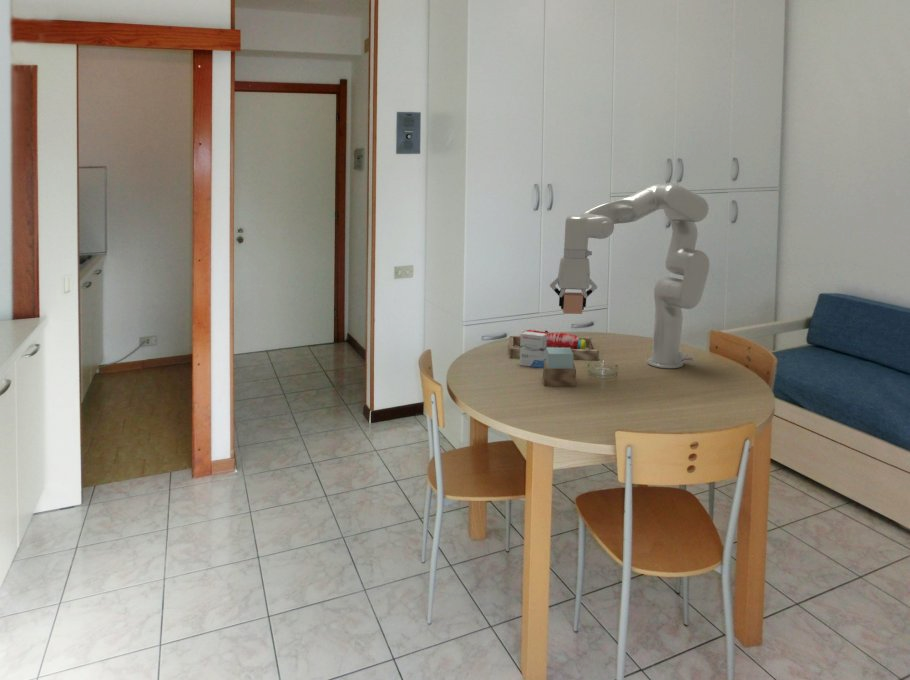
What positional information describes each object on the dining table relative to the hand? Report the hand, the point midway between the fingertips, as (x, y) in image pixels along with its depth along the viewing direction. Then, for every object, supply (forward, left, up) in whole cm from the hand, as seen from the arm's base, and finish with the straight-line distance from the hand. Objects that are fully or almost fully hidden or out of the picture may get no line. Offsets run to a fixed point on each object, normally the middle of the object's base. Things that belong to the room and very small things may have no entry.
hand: (572, 308), depth 235 cm
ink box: (+12, -16, -25) cm, 31 cm away
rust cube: (0, 0, -1) cm, 1 cm away
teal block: (+4, +4, -19) cm, 19 cm away
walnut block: (+4, +3, -25) cm, 25 cm away
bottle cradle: (+4, -34, -24) cm, 42 cm away
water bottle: (+3, -36, -25) cm, 44 cm away
